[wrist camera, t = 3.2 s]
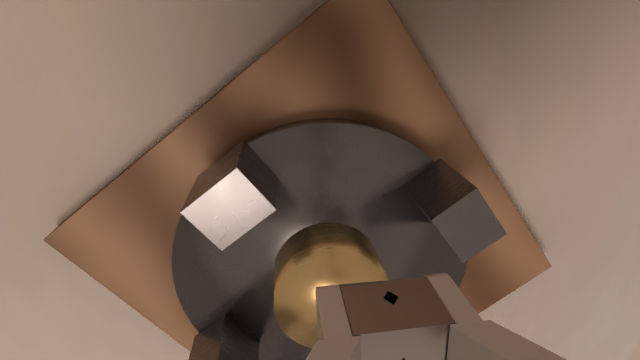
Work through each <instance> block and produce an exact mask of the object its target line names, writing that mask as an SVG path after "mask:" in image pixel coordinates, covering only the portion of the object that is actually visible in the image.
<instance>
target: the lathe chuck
mask: <svg viewBox="0 0 640 360" xmlns="http://www.w3.org/2000/svg"><path fill="white" fill-rule="evenodd" d="M180 213H181V214H182V215H181V218H180V220H179V223H178V225H177V228H176V233H175V237H174V241H173V247H172V261H171V263H172V274H173V281H174V285H175V289H176V293H177V296H178V299H179V301H180V303H181V306H182V308H183V310H184V312H185V314H186V315H187V317H188V319H189V320H190V322H191V323H192V325H193V326H194V327H195V328H196V330H197V331H198V332H199V333H198V334H197V335H195V337H194V341H193V345H192V349H191V353H190V357H189V360H306V358H307V357H308V355H309V354H310V352H311V350H312V349H313V347H314V346H315V344H316V342H317V341H318V330H317V313H316V294H315V291H316V287H319V286H329V285H339V284H350V283H361V282H373V281H387V280H396V279H405V278H414V277H423V276H424V275H432V274H439V273H447V274H448V275H450V277H451V278H452V280H453V281H454V282H455V284H456V285H457V286H458V288H459V287H460V285H461V282H462V279H463V277H464V274H465V270H466V265H467V261H468V260H469V259H470V258H472V257H473V256H475V255H476V254H478V253H479V252H481V251H482V250H484V249H485V248H487V247H488V246H490V245H491V244H493V243H494V242H496V241H497V240H499V239H500V238H502V237H503V236H505V235H506V234H507V233H506V231H505V230H504V228H503V227H502V225H501V224H500V222H499V221H498V219H497V218H496V216H495V214H494V213H493V211H492V210H491V208H490V207H489V205H488V204H487V202H486V201H485V199H484V198H483V196H482V194H481V193H480V191H479V190H478V188H477V187H475V186H474V185H473V184H472V183H471V182H469V181H468V180H467V179H466V178H464V177H463V176H462V175H461V174H459V173H458V172H457V171H456V170H454V169H453V168H452V167H451V166H450V165H448V164H447V163H446V162H445V161H443V160H442V159H441V158H440V159H438V160H437V161H436V162H434V161H433V160H432V159H431V158H430V157H429V156H428V155H427V154H425V153H424V152H423V151H422V150H421V149H420V148H418V147H417V146H416V145H414V144H413V143H411V142H410V141H408V140H407V139H405V138H404V137H402V136H400V135H398V134H396V133H394V132H392V131H390V130H388V129H385V128H383V127H379V126H376V125H373V124H370V123H367V122H362V121H356V120H350V119H341V118H317V119H306V120H300V121H295V122H291V123H286V124H282V125H279V126H276V127H274V128H271V129H268V130H265V131H263V132H261V133H259V134H257V135H255V136H253V137H251V138H249V139H247V140H242V141H241V142H240V143H239V144H237V145H236V146H235V147H234V148H232V149H231V150H230V151H229V152H227V153H226V154H225V155H224V156H222V157H221V158H220V159H219V160H217V161H216V162H215V163H214V164H212V165H211V166H210V167H209V168H208V169H206V170H205V171H204V172H203V173H201V174H200V175H199V176H198V177H197V179H196V181H195V183H194V185H193V187H192V189H191V191H190V193H189V196H188V198H187V200H186V202H185V204H184V206H183V208H182V210H181V212H180Z"/></svg>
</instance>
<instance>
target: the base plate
mask: <svg viewBox="0 0 640 360" xmlns="http://www.w3.org/2000/svg"><path fill="white" fill-rule="evenodd" d="M317 118H341V119H350V120H356V121H362V122H367V123H370V124H373V125H376V126H379V127H383V128H385V129H388V130H390V131H392V132H394V133H396V134H398V135H400V136H402V137H404V138H405V139H407V140H408V141H410V142H411V143H413V144H414V145H416V146H417V147H418V148H420V149H421V150H422V151H423V152H424V153H425V154H427V155H428V156H429V157H430V158H431V159H432V160H433V161H434V162H436V161H437V160H438V159H440V158H441V159H442V160H443V161H445V162H446V163H447V164H448V165H450V166H451V167H452V168H453V169H454V170H456V171H457V172H458V173H459V174H461V175H462V176H463V177H464V178H466V179H467V180H468V181H469V182H471V183H472V184H473V185H474V186H475V187H477V188H478V190H479V191H480V193H481V194H482V196H483V198H484V199H485V201H486V202H487V204H488V205H489V207H490V208H491V210H492V211H493V213H494V214H495V216H496V218H497V219H498V221H499V222H500V224H501V225H502V227H503V228H504V230H505V231H506V233H507V234H506V235H505V236H503V237H502V238H500V239H499V240H497V241H496V242H494V243H493V244H491V245H490V246H488V247H487V248H485V249H484V250H482V251H481V252H479V253H478V254H476V255H475V256H473V257H472V258H470V259H469V260H468V261H467V265H466V270H465V274H464V277H463V279H462V282H461V285H460V287H459V289H460V290H461V292H462V293H463V294H464V296H465V297H466V298H467V300H468V301H469V303H470V304H471V305H472V307H473V308H474V309H475V311H476V312H477V313H480V312H482V311H483V310H485V309H486V308H488V307H489V306H491V305H492V304H494V303H496V302H497V301H499V300H500V299H502V298H503V297H505V296H506V295H508V294H510V293H511V292H513V291H514V290H516V289H517V288H519V287H520V286H522V285H524V284H525V283H527V282H528V281H530V280H531V279H533V278H534V277H536V276H538V275H539V274H541V273H542V272H544V271H545V270H547V269H548V268H550V267H552V266H551V265H550V263H549V261H548V260H547V258H546V256H545V255H544V253H543V252H542V250H541V248H540V247H539V245H538V243H537V242H536V240H535V239H534V237H533V235H532V234H531V232H530V230H529V229H528V227H527V226H526V224H525V222H524V221H523V219H522V217H521V216H520V214H519V213H518V211H517V209H516V208H515V206H514V204H513V203H512V201H511V199H510V198H509V196H508V195H507V193H506V191H505V190H504V188H503V186H502V185H501V183H500V182H499V180H498V178H497V177H496V175H495V173H494V172H493V170H492V169H491V167H490V165H489V164H488V162H487V160H486V159H485V157H484V156H483V154H482V152H481V151H480V149H479V147H478V146H477V144H476V143H475V141H474V139H473V138H472V136H471V134H470V133H469V131H468V129H467V128H466V126H465V125H464V123H463V121H462V120H461V118H460V116H459V115H458V113H457V112H456V110H455V108H454V107H453V105H452V103H451V102H450V100H449V99H448V97H447V95H446V94H445V92H444V90H443V89H442V87H441V86H440V84H439V82H438V81H437V79H436V77H435V76H434V74H433V73H432V71H431V69H430V68H429V66H428V64H427V63H426V61H425V59H424V58H423V56H422V55H421V53H420V51H419V50H418V48H417V46H416V45H415V43H414V42H413V40H412V38H411V37H410V35H409V33H408V32H407V30H406V29H405V27H404V25H403V24H402V22H401V20H400V19H399V17H398V16H397V14H396V12H395V11H394V9H393V7H392V6H391V4H390V3H389V1H388V0H327V1H326V2H325V3H324V4H323V5H321V6H320V7H319V8H318V9H317V10H315V11H314V12H313V13H312V14H311V15H309V16H308V17H307V18H306V19H305V20H303V21H302V22H301V23H300V24H299V25H298V26H296V27H295V28H294V29H293V30H292V31H290V32H289V33H288V34H287V35H286V36H284V37H283V38H282V39H281V40H280V41H278V42H277V43H276V44H275V45H274V46H272V47H271V48H270V49H269V50H268V51H266V52H265V53H264V54H263V55H262V56H261V57H259V58H258V59H257V60H256V61H255V62H253V63H252V64H251V65H250V66H249V67H247V68H246V69H245V70H244V71H243V72H241V73H240V74H239V75H238V76H237V77H235V78H234V79H233V80H232V81H231V82H229V83H228V84H227V85H226V86H225V87H224V88H222V89H221V90H220V91H219V92H218V93H216V94H215V95H214V96H213V97H212V98H210V99H209V100H208V101H207V102H206V103H204V104H203V105H202V106H201V107H200V108H198V109H197V110H196V111H195V112H194V113H192V114H191V115H190V116H189V117H188V118H187V119H185V120H184V121H183V122H182V123H181V124H179V125H178V126H177V127H176V128H175V129H173V130H172V131H171V132H170V133H169V134H167V135H166V136H165V137H164V138H163V139H161V140H160V141H159V142H158V143H157V144H155V145H154V146H153V147H152V148H151V149H150V150H148V151H147V152H146V153H145V154H144V155H142V156H141V157H140V158H139V159H138V160H136V161H135V162H134V163H133V164H132V165H130V166H129V167H128V168H127V169H126V170H124V171H123V172H122V173H121V174H120V175H118V176H117V177H116V178H115V179H114V180H113V181H111V182H110V183H109V184H108V185H107V186H105V187H104V188H103V189H102V190H101V191H99V192H98V193H97V194H96V195H95V196H93V197H92V198H91V199H90V200H89V201H87V202H86V203H85V204H84V205H83V206H81V207H80V208H79V209H78V210H77V211H76V212H74V213H73V214H72V215H71V216H70V217H68V218H67V219H66V220H65V221H64V222H62V223H61V224H60V225H59V226H58V227H57V228H55V229H54V230H53V231H52V232H51V233H50V234H49V235H48V236H47V237H46V238H45V239H44V241H45V242H46V243H48V244H49V245H50V246H52V247H53V248H54V249H56V250H57V251H58V252H60V253H61V254H62V255H64V256H65V257H66V258H68V259H69V260H70V261H72V262H73V263H74V264H75V265H77V266H78V267H79V268H81V269H82V270H83V271H85V272H86V273H87V274H89V275H90V276H91V277H93V278H94V279H95V280H97V281H98V282H99V283H101V284H102V285H103V286H104V287H106V288H107V289H108V290H110V291H111V292H112V293H114V294H115V295H116V296H118V297H119V298H120V299H122V300H123V301H124V302H126V303H127V304H128V305H130V306H131V307H132V308H133V309H135V310H136V311H137V312H139V313H140V314H141V315H143V316H144V317H145V318H147V319H148V320H149V321H151V322H152V323H153V324H155V325H156V326H157V327H159V328H160V329H161V330H163V331H164V332H165V333H166V334H168V335H169V336H170V337H172V338H173V339H174V340H176V341H177V342H178V343H180V344H181V345H182V346H184V347H185V348H186V349H188V350H189V351H190V352H191V349H192V345H193V341H194V337H195V335H197V334H198V333H199V332H198V331H197V330H196V328H195V327H194V326H193V325H192V323H191V322H190V320H189V319H188V317H187V315H186V314H185V312H184V310H183V308H182V306H181V303H180V301H179V299H178V296H177V293H176V289H175V285H174V281H173V274H172V263H171V261H172V247H173V241H174V237H175V233H176V228H177V225H178V223H179V220H180V218H181V215H182V214H181V213H180V212H181V210H182V208H183V206H184V204H185V202H186V200H187V198H188V196H189V193H190V191H191V189H192V187H193V185H194V183H195V181H196V179H197V177H198V176H199V175H200V174H201V173H203V172H204V171H205V170H206V169H208V168H209V167H210V166H211V165H212V164H214V163H215V162H216V161H217V160H219V159H220V158H221V157H222V156H224V155H225V154H226V153H227V152H229V151H230V150H231V149H232V148H234V147H235V146H236V145H237V144H239V143H240V142H241V141H242V140H247V139H249V138H251V137H253V136H255V135H257V134H259V133H261V132H263V131H265V130H268V129H271V128H274V127H276V126H279V125H282V124H286V123H291V122H295V121H300V120H306V119H317Z"/></svg>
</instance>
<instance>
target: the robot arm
mask: <svg viewBox="0 0 640 360" xmlns="http://www.w3.org/2000/svg"><path fill="white" fill-rule="evenodd" d="M315 294H316V313H317V330H318V341H317V342H316V344H315V346H314V347H313V349H312V350H311V352H310V354H309V355H308V357H307V358H306V360H566V359H564V358H562V357H560V356H558V355H557V354H555V353H553V352H551V351H549V350H547V349H545V348H543V347H541V346H539V345H537V344H535V343H533V342H531V341H529V340H527V339H526V338H524V337H522V336H520V335H518V334H516V333H514V332H512V331H510V330H508V329H506V328H504V327H502V326H500V325H498V324H496V323H495V322H493V321H491V320H486V321H483V320H482V319H481V317H480V316H479V315H478V313H477V312H476V311H475V309H474V308H473V307H472V305H471V304H470V303H469V301H468V300H467V298H466V297H465V296H464V294H463V293H462V292H461V290H460V289H459V288H458V286H457V285H456V284H455V282H454V281H453V280H452V278H451V277H450V275H448V274H447V273H439V274H432V275H424V276H423V277H414V278H405V279H396V280H387V281H373V282H361V283H350V284H339V285H329V286H319V287H316V291H315Z"/></svg>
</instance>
